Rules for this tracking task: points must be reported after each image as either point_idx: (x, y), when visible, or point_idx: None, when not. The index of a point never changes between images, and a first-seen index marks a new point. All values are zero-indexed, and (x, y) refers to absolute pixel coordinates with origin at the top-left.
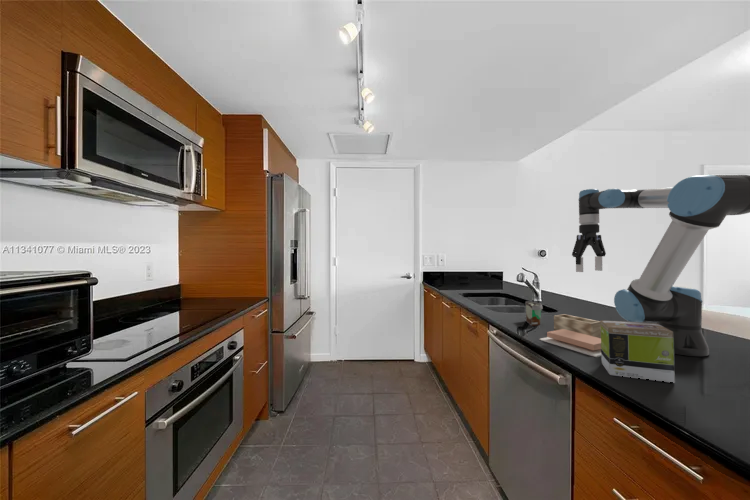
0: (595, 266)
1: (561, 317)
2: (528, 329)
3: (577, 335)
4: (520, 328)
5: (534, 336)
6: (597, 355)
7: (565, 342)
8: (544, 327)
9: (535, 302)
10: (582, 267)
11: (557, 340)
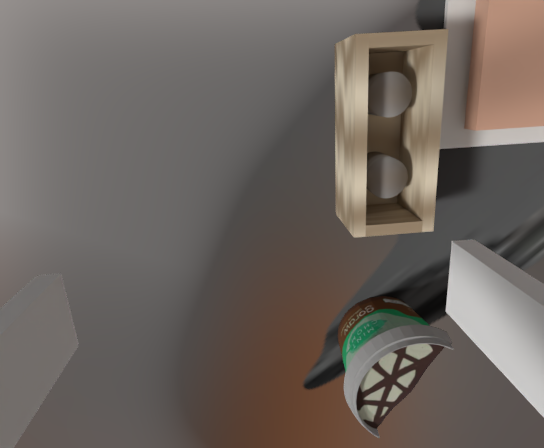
0: (52, 377)
1: (435, 191)
2: None
3: (534, 23)
4: None
5: (539, 182)
6: None
7: None
8: (381, 265)
9: (356, 405)
10: (504, 264)
11: None
